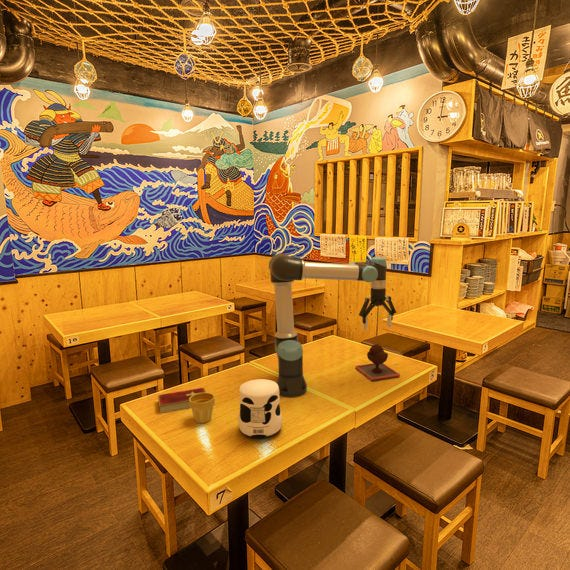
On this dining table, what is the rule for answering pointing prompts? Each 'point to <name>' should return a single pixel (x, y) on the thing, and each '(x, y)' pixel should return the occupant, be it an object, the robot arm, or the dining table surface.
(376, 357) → the ice cream bowl
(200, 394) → the plant pot
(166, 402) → the hardcover book
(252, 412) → the milk container
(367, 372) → the serving tray
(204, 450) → the dining table surface
